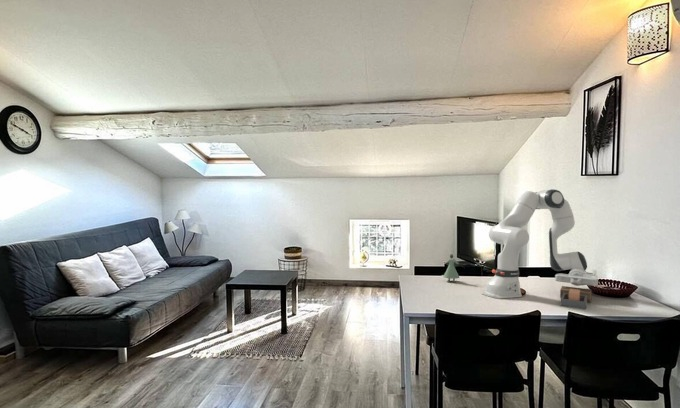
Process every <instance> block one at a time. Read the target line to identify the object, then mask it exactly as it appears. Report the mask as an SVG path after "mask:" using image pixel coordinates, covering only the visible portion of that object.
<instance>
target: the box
mask: <svg viewBox="0 0 680 408" xmlns="http://www.w3.org/2000/svg"><path fill="white" fill-rule="evenodd" d="M587 305H588V302H587V296H585V295H580V301H576V300H569V293H563V295H562V297H561V299H560V307H561V306H562V307H568V308H574V309H581V310H587Z"/></svg>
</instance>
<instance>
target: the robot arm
mask: <svg viewBox="0 0 680 408" xmlns="http://www.w3.org/2000/svg"><path fill="white" fill-rule="evenodd" d="M536 210H549V212H550V214H551V219H552V226H551V227H550V228H549V231H548V243H549V244H548V245H549V265H550V268H551V269H552V270H554V271H556V272H561V271H566V270H570V271H569V273H568V274H567V273H556V274H555V275H554V277H555V278H554V279H555V281H556V282H560V283H567V284H568V283H569V284H571V285H573V286H574V287H575V286H577V287H579V286H594V287H598V286H599V278H598V276H596V274H595V273H591V272H587V271H586V270H587V269H588V263H587V259H586V257H585V255H584V254H583V253H581V252H580V251H569V252H565V253H558V239H559V238H560V237H562V236H563V235H565V234H566V233H568V232H569V231H570V232H571V230H572V229H573V228H574V227H575V225H576V223H575V222H576V221H575V217H574V213H573V209H572V207H571V205H570V204H569V201H567V199H565V197H564V195H563V193H562V192H561V191H560V190H558V189H548V190H545V189H544V190H539V191H536V192H534V191H531V190H529V191H528V190H527V191H525V192H524V193H522V194H521V195H520V197H519V198H518V199H517V201H516V202H515V204H514V206H513V207H512V209H511V210H510V211H509V213H508V214H507V216H505V218H504V219H502V220H501V221H500V222H499V223H498V224H496V225H493V226H492V227H490V229H489V232H488V237H489V239H490V240H491V241H492V242H493V243H494V242H495V243H496V244H498V245H504V246H503V249H502V251H501V252H499V253H498V255H497V268H496V269H494V268H493V269H492V270H491V272H492V273H493V274H494V276H492V277H491V279H490V280H488V282H486V284H485V290H481V294H482V295H484V296H488V297H490V298H494V299H511V298H512V299H513V298H522V297H523V295H522V293H521V284H520V283H521V282H520V280H519V279H520V278H519V276H520V269H519V263H520V262H519V257H520V254H521V251H522V249H523V248H524V247H526V245H527V244H528V243H529V240H530V234H529V232H528V231H527V229H524V228H523V227H524V226H526V225H528V223H529V222H530V220H531V218H532V217H533V215H534V213H535V211H536Z"/></svg>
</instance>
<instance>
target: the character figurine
mask: <svg viewBox="0 0 680 408" xmlns="http://www.w3.org/2000/svg"><path fill="white" fill-rule="evenodd" d="M449 257H450V258H448V259H447V260H446V261H445V262H444V263H442V264H441V266H443V265H444V264H448V266H447V268H446V271H445V272H444V274H443V278H444V279H447V282H448V281H450V282H451V280H452V282H453V281H456V280H457V279H460V275H459V273H458V272H457V270H456V266H455V264H457V265H460V267H461V268H464V265H462V264H461V263H459V261H456V259H455V258H454V255H453V254H450V255H449ZM455 279H456V280H455Z"/></svg>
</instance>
